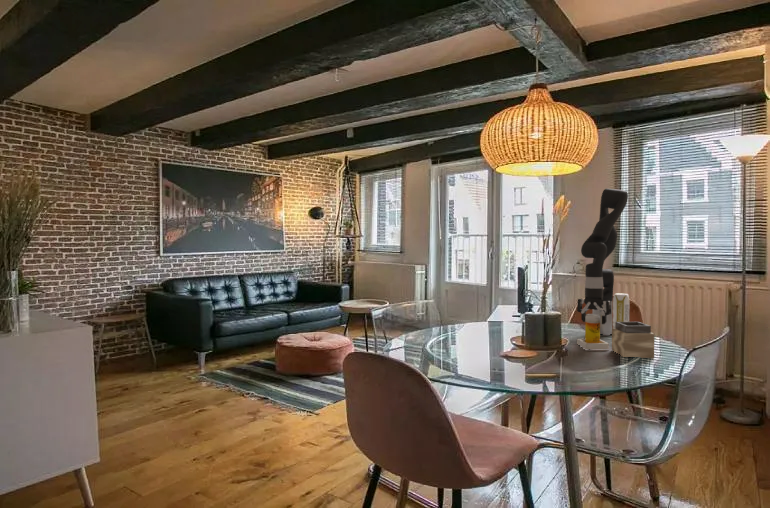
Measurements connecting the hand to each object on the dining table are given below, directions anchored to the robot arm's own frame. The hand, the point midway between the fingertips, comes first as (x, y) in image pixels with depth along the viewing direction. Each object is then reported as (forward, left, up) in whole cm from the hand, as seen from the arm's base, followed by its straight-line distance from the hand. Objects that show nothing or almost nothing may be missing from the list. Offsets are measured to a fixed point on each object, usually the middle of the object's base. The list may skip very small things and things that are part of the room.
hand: (593, 322), depth 217 cm
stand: (+12, +12, -11) cm, 20 cm away
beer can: (0, 0, -12) cm, 12 cm away
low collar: (0, 0, -11) cm, 11 cm away
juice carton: (-42, +32, -12) cm, 54 cm away
